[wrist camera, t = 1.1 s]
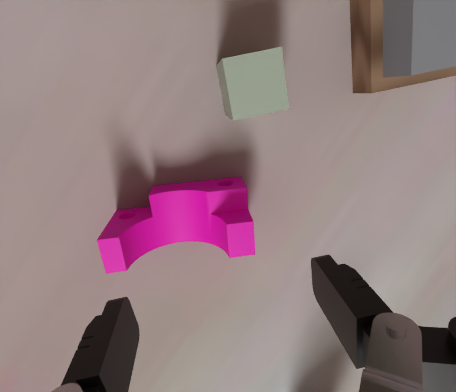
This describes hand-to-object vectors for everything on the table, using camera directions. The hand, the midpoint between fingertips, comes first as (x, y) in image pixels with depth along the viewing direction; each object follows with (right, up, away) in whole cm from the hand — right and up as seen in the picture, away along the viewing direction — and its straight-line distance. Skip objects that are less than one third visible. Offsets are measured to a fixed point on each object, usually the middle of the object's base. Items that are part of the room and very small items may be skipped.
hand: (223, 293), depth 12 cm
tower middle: (+19, +20, +15) cm, 31 cm away
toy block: (-5, +3, +23) cm, 24 cm away
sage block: (+2, +16, +18) cm, 25 cm away
